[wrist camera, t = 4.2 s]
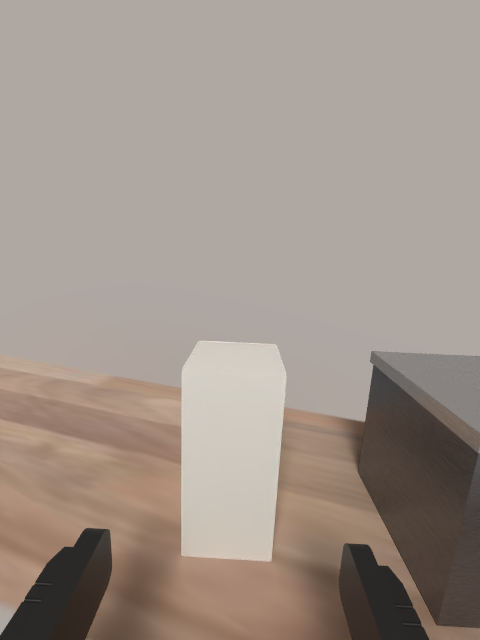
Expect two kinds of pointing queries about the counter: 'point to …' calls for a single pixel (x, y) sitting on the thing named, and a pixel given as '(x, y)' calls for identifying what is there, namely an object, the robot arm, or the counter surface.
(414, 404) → the block
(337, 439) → the counter surface
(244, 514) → the cream block
